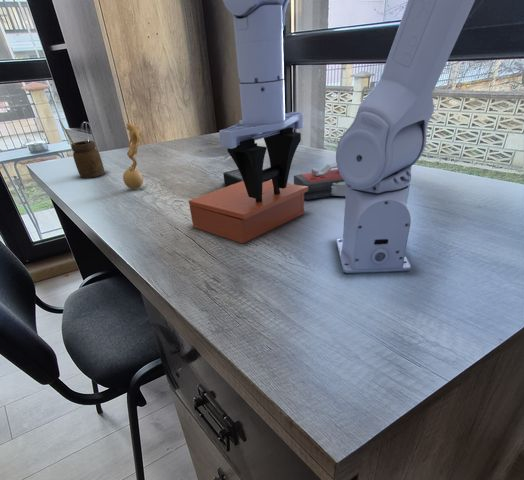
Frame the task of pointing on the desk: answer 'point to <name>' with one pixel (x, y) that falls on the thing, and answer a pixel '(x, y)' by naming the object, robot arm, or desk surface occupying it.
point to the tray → (247, 220)
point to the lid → (238, 201)
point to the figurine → (133, 158)
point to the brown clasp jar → (86, 157)
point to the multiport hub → (232, 177)
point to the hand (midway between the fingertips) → (267, 192)
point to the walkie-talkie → (322, 182)
